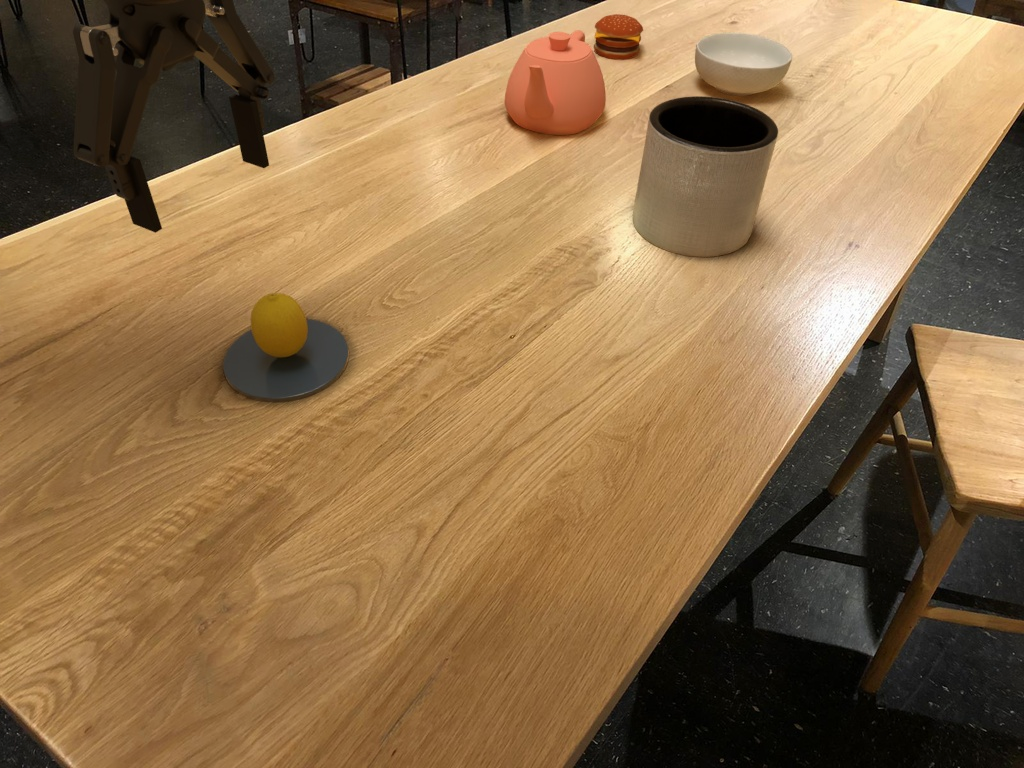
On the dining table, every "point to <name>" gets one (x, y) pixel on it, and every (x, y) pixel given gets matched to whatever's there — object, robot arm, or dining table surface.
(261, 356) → the plate
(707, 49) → the cereal bowl
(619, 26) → the hamburger
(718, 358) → the dining table surface
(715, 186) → the planter
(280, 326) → the lemon
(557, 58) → the teapot
